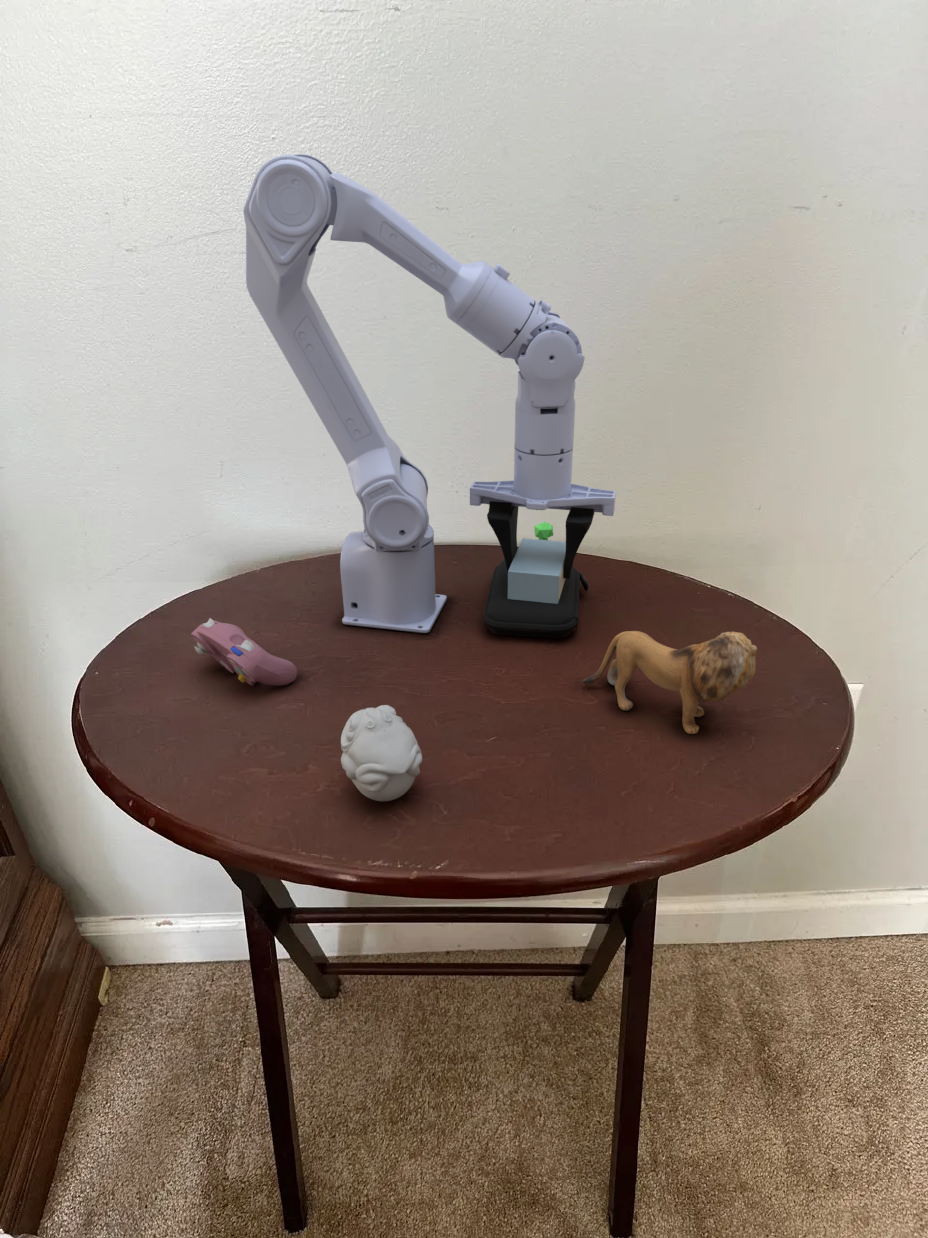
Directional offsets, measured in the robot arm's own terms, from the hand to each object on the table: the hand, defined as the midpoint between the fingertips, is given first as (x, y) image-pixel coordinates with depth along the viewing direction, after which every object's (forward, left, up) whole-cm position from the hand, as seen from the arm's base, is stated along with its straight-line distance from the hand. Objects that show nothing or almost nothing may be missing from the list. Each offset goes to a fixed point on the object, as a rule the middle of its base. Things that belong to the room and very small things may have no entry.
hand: (539, 572), depth 90 cm
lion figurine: (+14, -16, -5) cm, 22 cm away
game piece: (-1, +10, -5) cm, 11 cm away
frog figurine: (-7, -32, -5) cm, 33 cm away
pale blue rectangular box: (0, 0, -1) cm, 1 cm away
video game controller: (-25, -19, -5) cm, 32 cm away
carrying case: (0, 0, -5) cm, 5 cm away
